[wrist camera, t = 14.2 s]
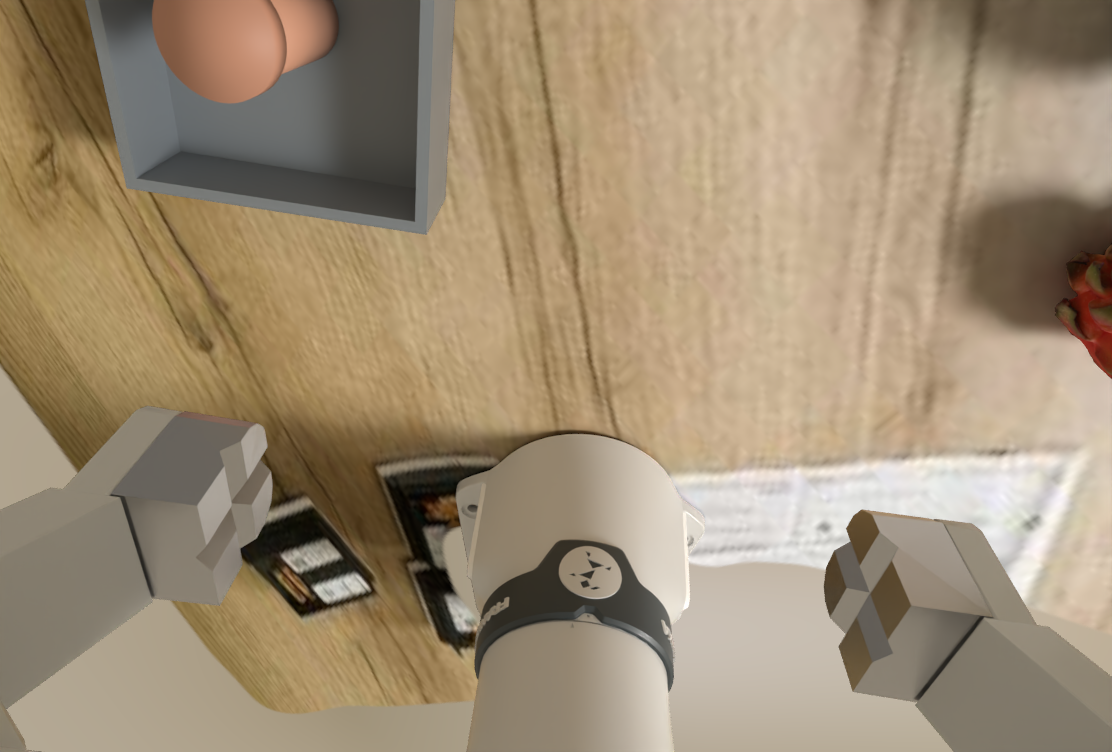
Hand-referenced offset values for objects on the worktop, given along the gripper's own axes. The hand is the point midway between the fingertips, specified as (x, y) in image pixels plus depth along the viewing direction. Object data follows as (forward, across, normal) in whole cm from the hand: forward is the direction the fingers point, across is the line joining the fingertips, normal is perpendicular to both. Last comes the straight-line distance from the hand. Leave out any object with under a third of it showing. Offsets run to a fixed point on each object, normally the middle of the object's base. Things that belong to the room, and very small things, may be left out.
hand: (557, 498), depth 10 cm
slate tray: (+31, +15, +1) cm, 34 cm away
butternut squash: (+30, +15, 0) cm, 34 cm away
